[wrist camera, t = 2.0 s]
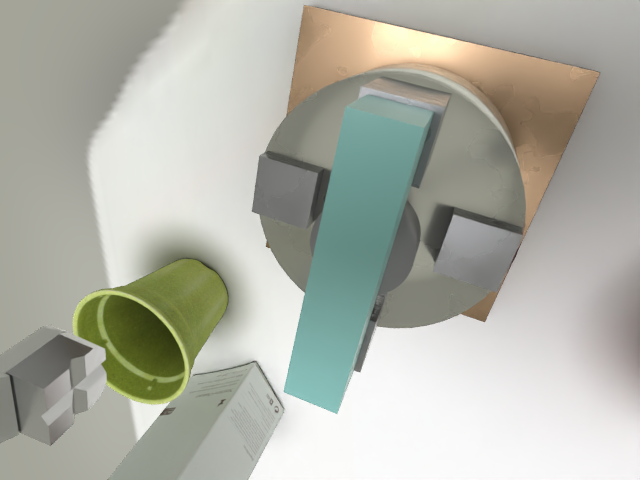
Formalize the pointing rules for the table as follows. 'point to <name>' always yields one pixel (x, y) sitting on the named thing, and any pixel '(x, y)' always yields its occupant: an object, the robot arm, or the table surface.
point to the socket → (423, 155)
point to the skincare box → (208, 430)
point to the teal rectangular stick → (357, 243)
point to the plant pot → (153, 328)
